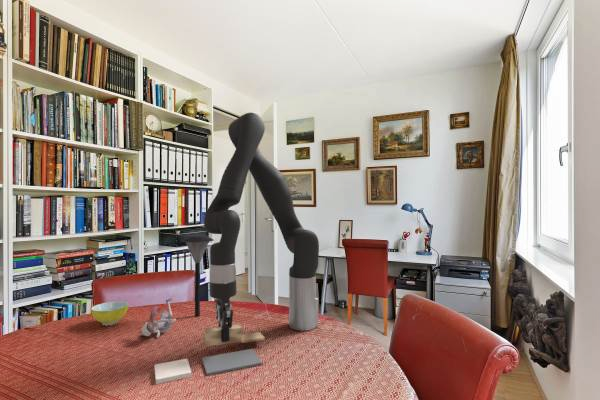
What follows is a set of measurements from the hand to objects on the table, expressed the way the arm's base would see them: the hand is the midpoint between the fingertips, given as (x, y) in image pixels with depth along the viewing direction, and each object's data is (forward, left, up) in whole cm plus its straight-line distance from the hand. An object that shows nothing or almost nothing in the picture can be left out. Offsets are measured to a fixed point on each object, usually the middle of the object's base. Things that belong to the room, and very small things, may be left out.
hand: (224, 338), depth 96 cm
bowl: (+33, -37, -3) cm, 50 cm away
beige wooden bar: (-3, 0, -1) cm, 3 cm away
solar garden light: (+4, -33, -3) cm, 33 cm away
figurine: (+17, -20, -4) cm, 26 cm away
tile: (+10, +8, -3) cm, 13 cm away
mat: (0, +8, -3) cm, 9 cm away
